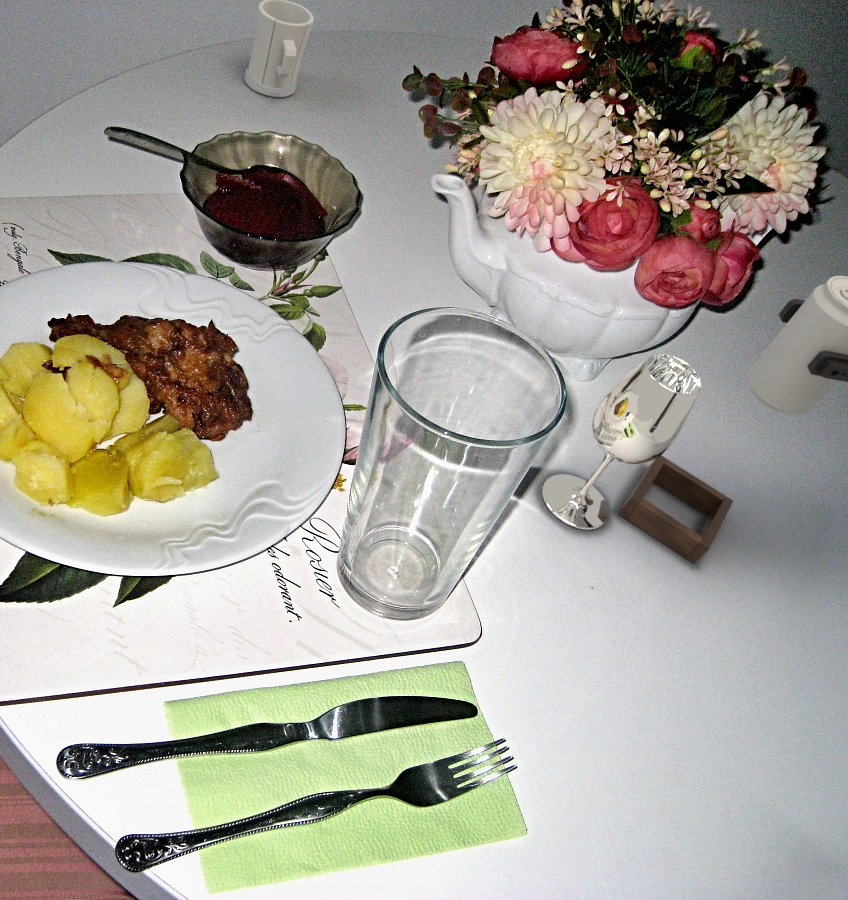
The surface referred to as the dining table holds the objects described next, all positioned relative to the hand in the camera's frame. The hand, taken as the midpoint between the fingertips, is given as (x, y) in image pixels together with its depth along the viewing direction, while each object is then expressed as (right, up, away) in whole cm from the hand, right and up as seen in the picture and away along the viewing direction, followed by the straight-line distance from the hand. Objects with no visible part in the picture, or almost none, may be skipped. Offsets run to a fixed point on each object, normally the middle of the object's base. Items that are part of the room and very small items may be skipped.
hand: (800, 335), depth 79 cm
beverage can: (+1, -5, +6) cm, 8 cm away
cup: (-45, +50, +69) cm, 96 cm away
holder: (-2, -17, +21) cm, 28 cm away
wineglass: (-13, -16, +20) cm, 28 cm away
